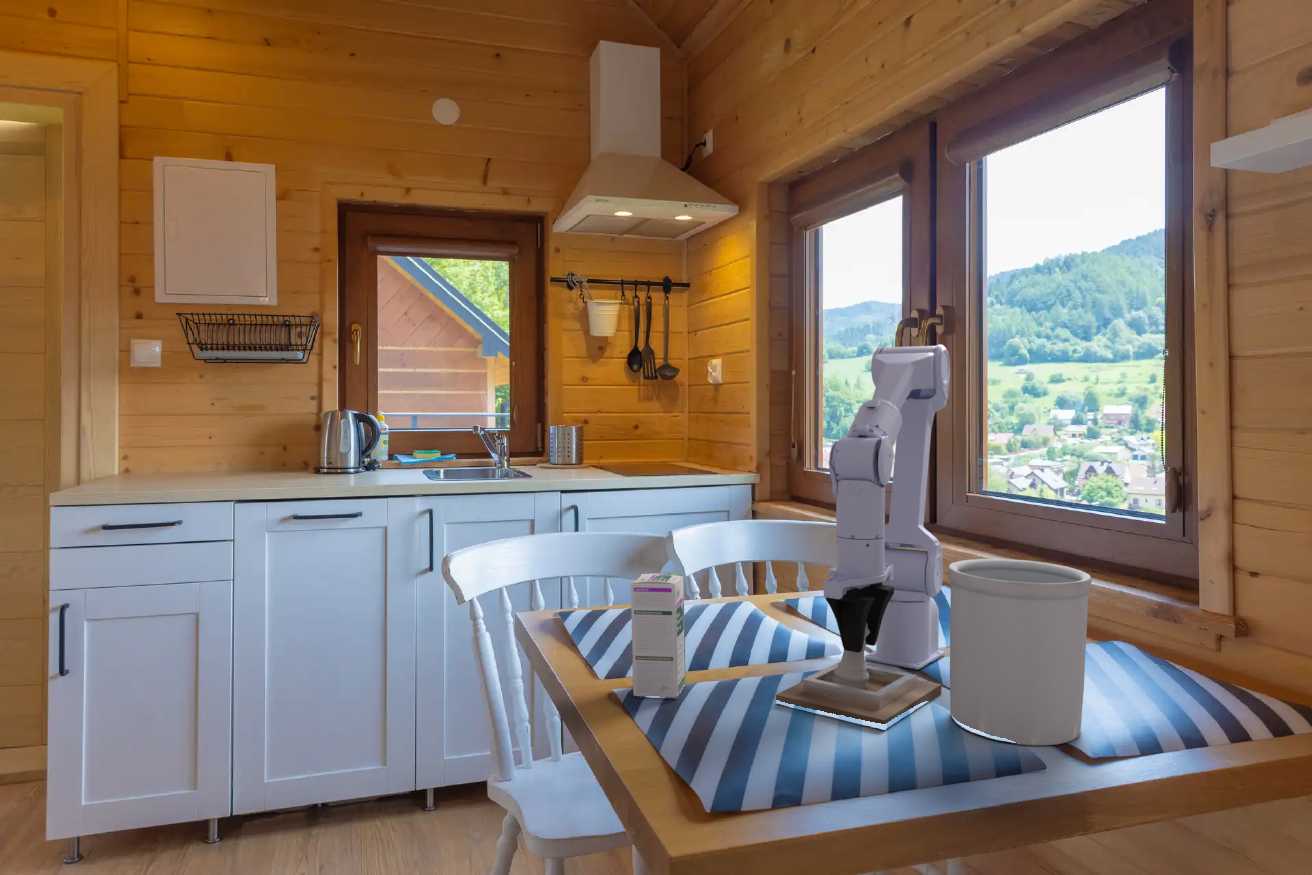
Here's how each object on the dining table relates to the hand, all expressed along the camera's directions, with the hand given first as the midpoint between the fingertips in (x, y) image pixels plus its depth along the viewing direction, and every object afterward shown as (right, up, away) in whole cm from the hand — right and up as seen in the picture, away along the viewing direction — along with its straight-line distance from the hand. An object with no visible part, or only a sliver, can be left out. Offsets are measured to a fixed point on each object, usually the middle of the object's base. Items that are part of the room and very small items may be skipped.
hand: (859, 647), depth 110 cm
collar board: (0, -6, 0) cm, 6 cm away
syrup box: (-24, -7, +4) cm, 26 cm away
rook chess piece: (-1, -5, +1) cm, 5 cm away
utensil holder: (+16, -7, -8) cm, 19 cm away
